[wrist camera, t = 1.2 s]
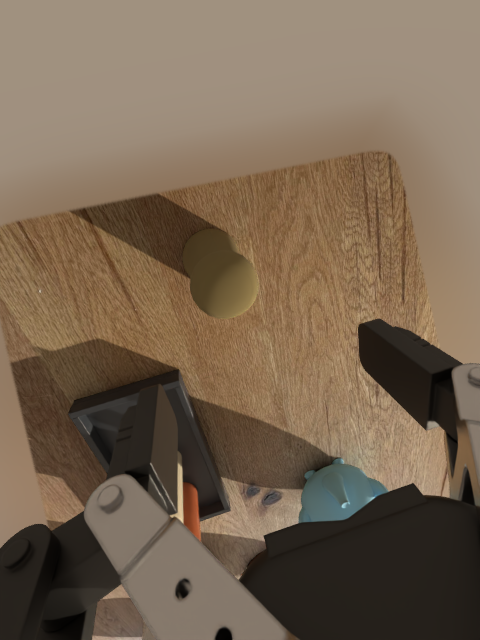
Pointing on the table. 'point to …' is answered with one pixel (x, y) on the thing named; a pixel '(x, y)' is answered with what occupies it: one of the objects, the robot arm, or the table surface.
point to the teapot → (337, 492)
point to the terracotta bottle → (191, 509)
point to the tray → (198, 463)
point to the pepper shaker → (219, 274)
